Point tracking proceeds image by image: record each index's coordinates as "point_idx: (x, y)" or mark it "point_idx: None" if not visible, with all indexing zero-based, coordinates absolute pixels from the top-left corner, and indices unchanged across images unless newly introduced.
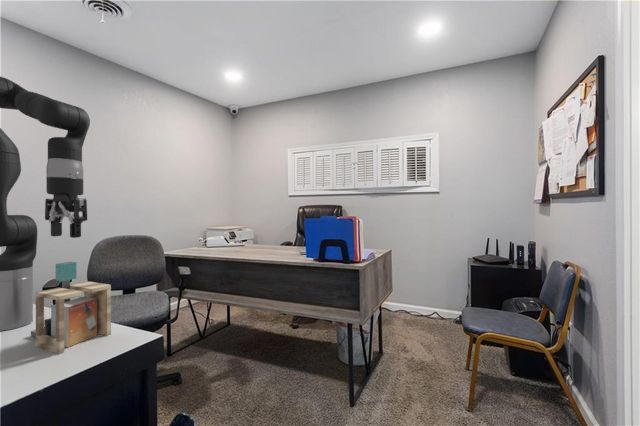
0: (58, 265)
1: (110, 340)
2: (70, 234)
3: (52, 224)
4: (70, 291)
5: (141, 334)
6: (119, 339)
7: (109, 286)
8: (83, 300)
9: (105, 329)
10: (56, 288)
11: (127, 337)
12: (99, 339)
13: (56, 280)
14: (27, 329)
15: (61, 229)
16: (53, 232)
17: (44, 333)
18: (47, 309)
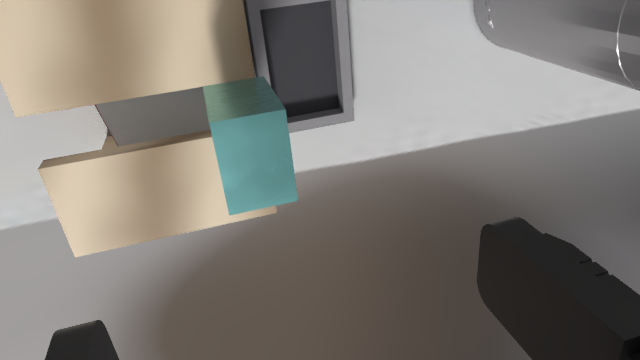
0: (243, 112)
1: (44, 126)
2: (75, 348)
3: (604, 325)
4: (74, 80)
5: (12, 208)
6: (26, 147)
7: (75, 246)
8: (136, 128)
9: (113, 142)
10: (235, 63)
11: (23, 170)
12: (91, 108)
13: (254, 78)
14: (430, 5)
15: (526, 348)
16: (513, 255)
17: (270, 3)
18: (574, 115)
